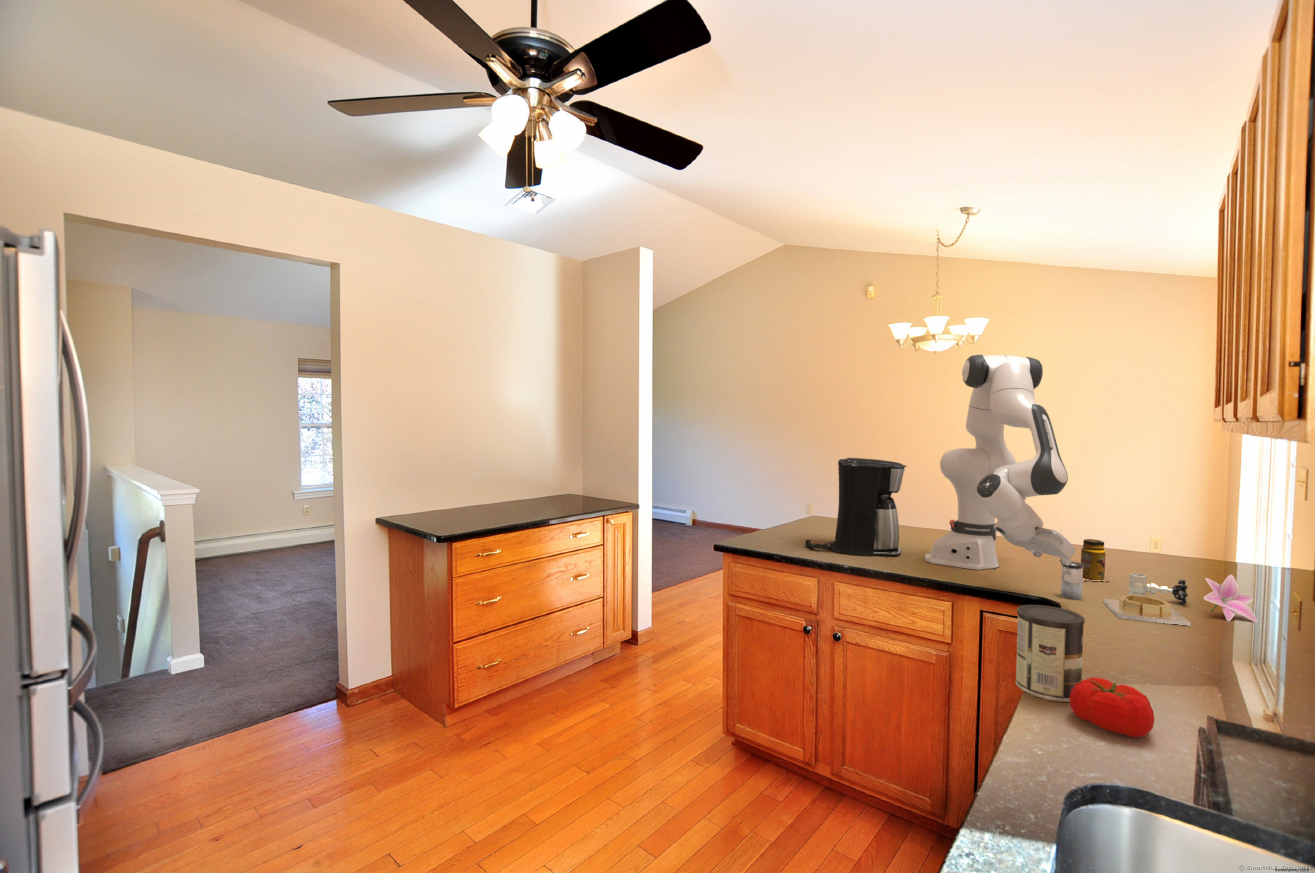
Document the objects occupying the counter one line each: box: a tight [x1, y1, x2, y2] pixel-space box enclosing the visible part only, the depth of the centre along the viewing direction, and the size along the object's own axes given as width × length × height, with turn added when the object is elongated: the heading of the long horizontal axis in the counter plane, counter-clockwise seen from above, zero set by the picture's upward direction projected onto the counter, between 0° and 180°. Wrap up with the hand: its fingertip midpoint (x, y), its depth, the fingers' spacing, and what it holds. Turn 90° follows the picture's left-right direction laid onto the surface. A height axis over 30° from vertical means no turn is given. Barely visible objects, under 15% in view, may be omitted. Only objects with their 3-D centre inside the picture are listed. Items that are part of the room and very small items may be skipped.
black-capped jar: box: [1060, 560, 1084, 600], centre depth 167 cm, size 5×5×9 cm
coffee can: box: [1015, 604, 1086, 703], centre depth 110 cm, size 10×10×14 cm
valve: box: [1127, 572, 1189, 605], centre depth 165 cm, size 7×7×12 cm
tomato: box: [1069, 676, 1155, 738], centre depth 97 cm, size 10×11×6 cm
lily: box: [1203, 574, 1258, 623], centre depth 153 cm, size 12×12×10 cm
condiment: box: [1080, 538, 1106, 580], centre depth 186 cm, size 7×8×12 cm
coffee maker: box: [804, 457, 907, 557], centre depth 221 cm, size 23×32×34 cm
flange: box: [1103, 593, 1191, 627], centre depth 154 cm, size 14×14×3 cm
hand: (1053, 559), depth 166 cm, fingers open, 8 cm apart
